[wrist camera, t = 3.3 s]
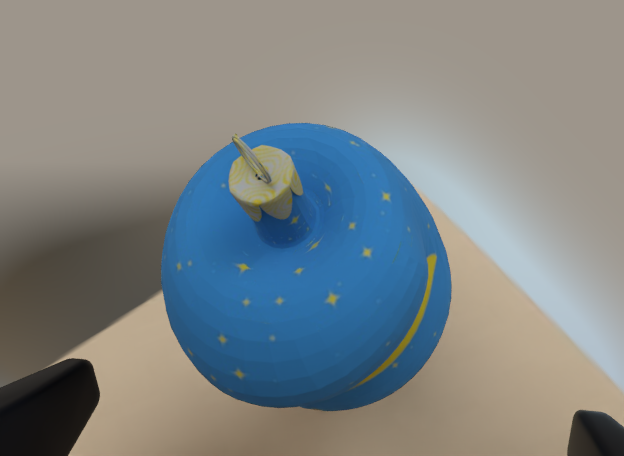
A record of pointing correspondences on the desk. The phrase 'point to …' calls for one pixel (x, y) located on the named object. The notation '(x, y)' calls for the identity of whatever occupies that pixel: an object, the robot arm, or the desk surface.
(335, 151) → the ornament
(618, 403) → the desk surface
